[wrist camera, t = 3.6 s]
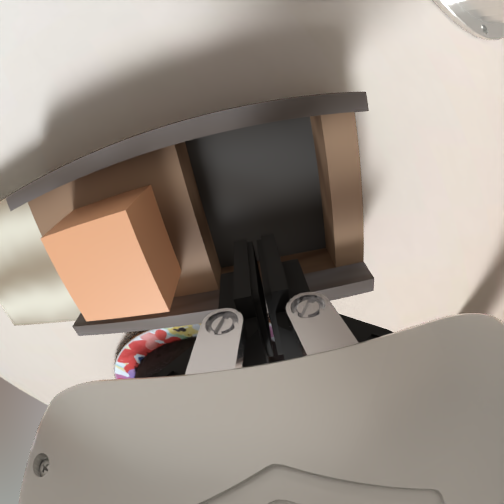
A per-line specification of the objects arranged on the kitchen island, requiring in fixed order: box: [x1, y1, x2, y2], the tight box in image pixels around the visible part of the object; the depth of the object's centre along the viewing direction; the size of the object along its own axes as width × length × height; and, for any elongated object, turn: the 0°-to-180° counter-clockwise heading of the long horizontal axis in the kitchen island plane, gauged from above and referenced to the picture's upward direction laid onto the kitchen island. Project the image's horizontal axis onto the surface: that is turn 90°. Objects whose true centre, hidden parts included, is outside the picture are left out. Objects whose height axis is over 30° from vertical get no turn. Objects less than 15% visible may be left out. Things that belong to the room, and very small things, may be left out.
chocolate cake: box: [114, 319, 285, 379], centre depth 28 cm, size 28×28×7 cm
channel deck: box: [0, 92, 374, 336], centre depth 17 cm, size 12×34×5 cm, turn 101°
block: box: [40, 184, 181, 321], centre depth 15 cm, size 6×6×4 cm
